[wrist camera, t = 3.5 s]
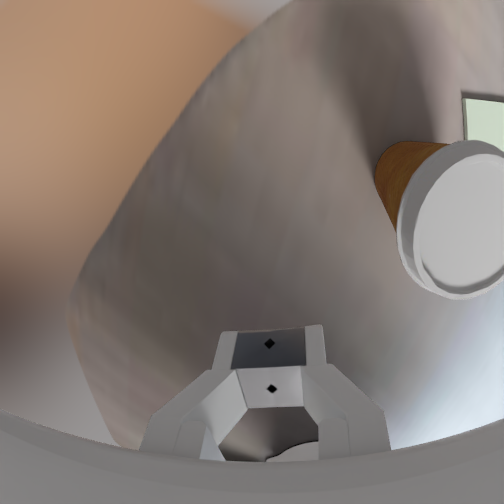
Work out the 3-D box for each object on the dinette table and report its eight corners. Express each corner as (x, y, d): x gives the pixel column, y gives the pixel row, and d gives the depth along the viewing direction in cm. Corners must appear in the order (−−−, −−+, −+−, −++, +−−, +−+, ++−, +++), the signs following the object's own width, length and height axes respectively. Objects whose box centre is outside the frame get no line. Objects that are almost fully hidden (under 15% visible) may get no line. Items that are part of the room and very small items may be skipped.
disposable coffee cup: (422, 243, 27) (481, 323, 16) (337, 201, 26) (370, 273, 15) (469, 157, 23) (556, 199, 12) (385, 101, 22) (458, 106, 11)
